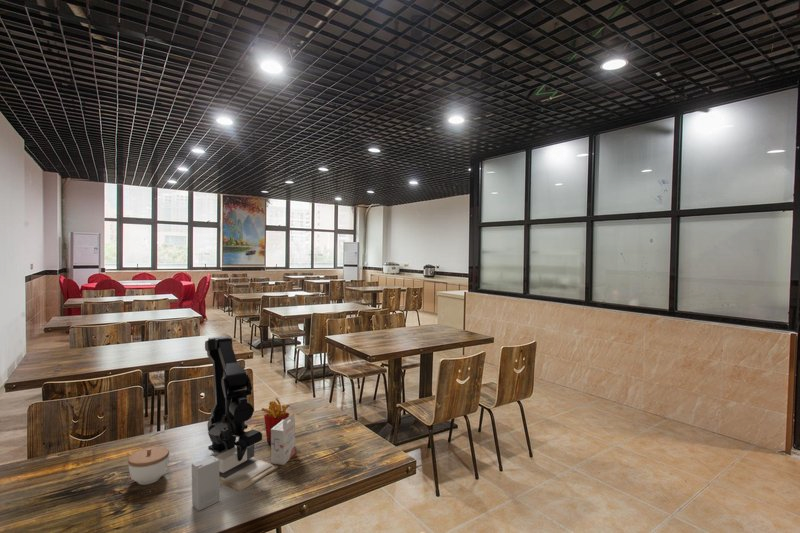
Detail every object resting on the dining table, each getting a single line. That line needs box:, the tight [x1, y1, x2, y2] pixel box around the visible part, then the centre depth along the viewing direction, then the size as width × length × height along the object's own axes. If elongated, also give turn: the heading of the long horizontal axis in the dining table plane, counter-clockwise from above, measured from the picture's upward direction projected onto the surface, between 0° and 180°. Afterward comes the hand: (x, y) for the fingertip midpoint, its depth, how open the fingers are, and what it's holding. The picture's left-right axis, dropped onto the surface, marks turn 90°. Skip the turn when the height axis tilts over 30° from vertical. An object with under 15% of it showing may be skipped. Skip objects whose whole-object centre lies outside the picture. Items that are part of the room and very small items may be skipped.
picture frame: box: [219, 457, 279, 492], centre depth 132 cm, size 20×15×1 cm
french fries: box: [260, 397, 291, 443], centre depth 153 cm, size 9×8×15 cm
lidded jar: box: [127, 446, 170, 486], centre depth 126 cm, size 11×11×9 cm
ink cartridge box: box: [270, 412, 296, 466], centre depth 139 cm, size 9×5×15 cm, turn 168°
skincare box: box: [191, 455, 221, 511], centre depth 114 cm, size 6×4×12 cm
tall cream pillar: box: [214, 444, 255, 473], centre depth 132 cm, size 4×12×4 cm, turn 151°
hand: (235, 458), depth 132 cm, fingers closed on tall cream pillar, 4 cm apart
